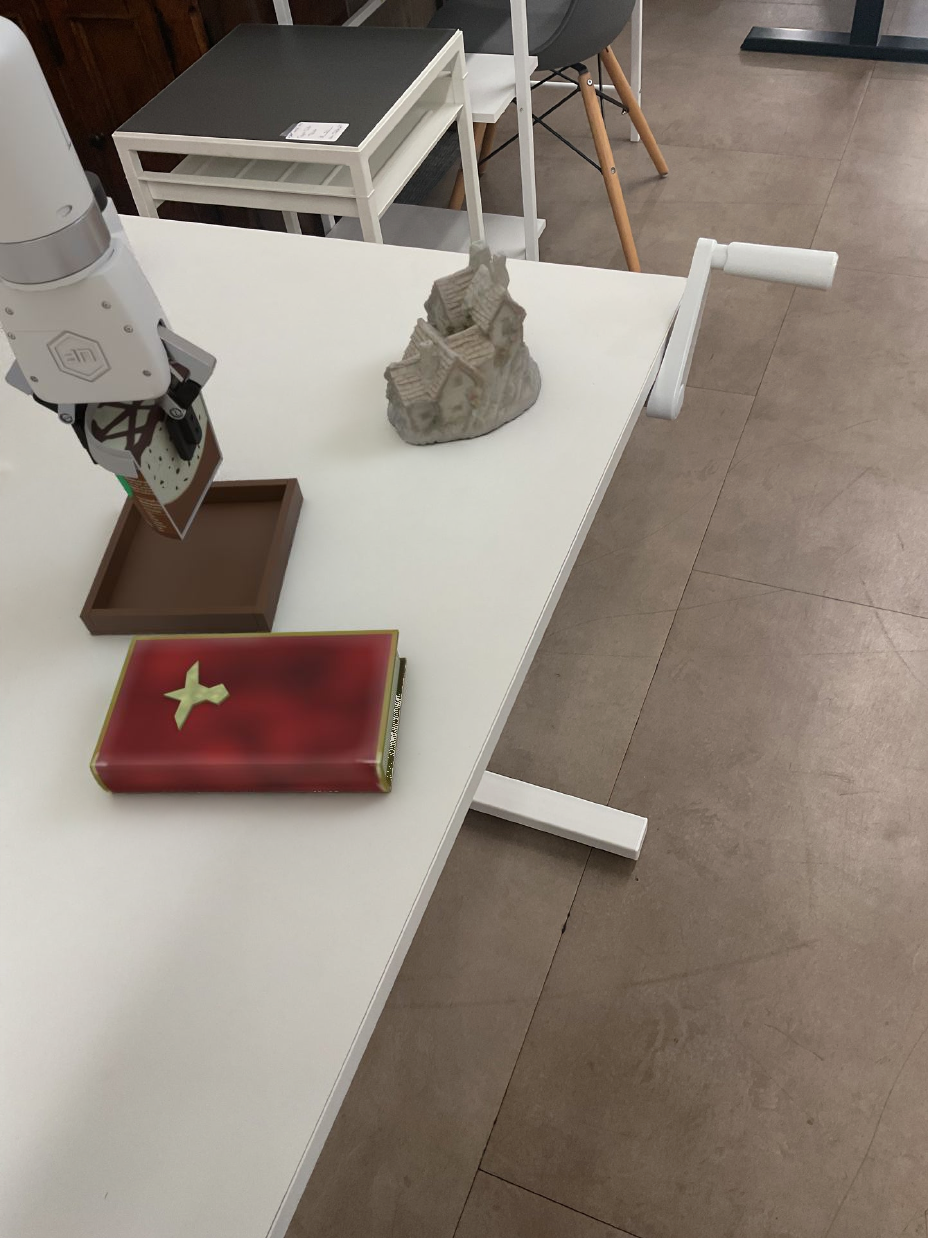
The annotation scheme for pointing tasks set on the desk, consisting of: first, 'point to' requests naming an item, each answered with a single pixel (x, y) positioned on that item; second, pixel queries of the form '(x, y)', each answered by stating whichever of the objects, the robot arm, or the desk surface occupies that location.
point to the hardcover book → (253, 713)
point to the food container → (154, 459)
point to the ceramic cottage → (464, 358)
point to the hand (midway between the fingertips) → (147, 449)
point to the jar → (108, 210)
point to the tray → (199, 565)
